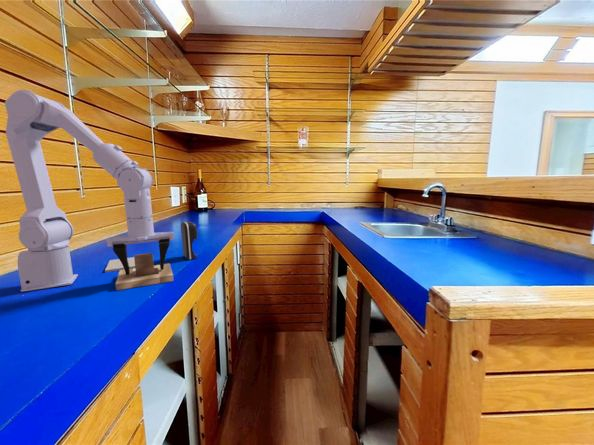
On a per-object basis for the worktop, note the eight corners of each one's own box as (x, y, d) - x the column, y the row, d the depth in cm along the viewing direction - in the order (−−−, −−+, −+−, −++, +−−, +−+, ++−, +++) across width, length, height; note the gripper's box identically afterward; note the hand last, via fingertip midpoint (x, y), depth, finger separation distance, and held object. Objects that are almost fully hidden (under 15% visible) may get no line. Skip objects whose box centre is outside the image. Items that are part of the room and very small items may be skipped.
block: (136, 282, 72) (134, 258, 71) (137, 277, 76) (134, 254, 75) (155, 279, 74) (152, 256, 73) (154, 275, 77) (152, 252, 77)
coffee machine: (200, 258, 93) (197, 222, 91) (187, 260, 91) (184, 223, 89) (195, 254, 99) (192, 220, 97) (183, 256, 97) (180, 221, 95)
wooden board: (116, 290, 67) (115, 284, 67) (120, 275, 77) (119, 270, 77) (173, 280, 72) (173, 275, 72) (170, 268, 83) (169, 263, 82)
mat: (105, 272, 81) (104, 270, 81) (110, 262, 92) (109, 260, 91) (153, 265, 86) (153, 263, 86) (152, 256, 97) (152, 254, 97)
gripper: (102, 221, 66) (109, 280, 68) (172, 216, 72) (177, 270, 74) (106, 218, 72) (112, 272, 74) (170, 214, 78) (175, 263, 80)
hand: (145, 271), depth 74 cm, fingers open, 7 cm apart
